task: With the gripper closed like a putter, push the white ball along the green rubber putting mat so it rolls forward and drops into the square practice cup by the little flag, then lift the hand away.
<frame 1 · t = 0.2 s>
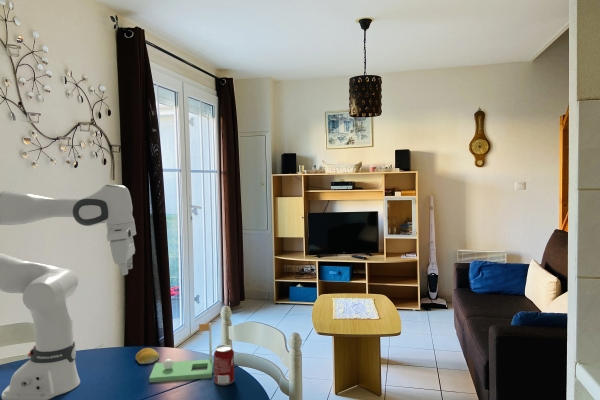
hand: (127, 271, 147), 38 cm above the table, tool pointing down, fingers open, 8 cm apart
bread roll: (147, 360, 167), on the table
green: (182, 372, 156), on the table
ball: (168, 369, 155), point 2 cm above the table, touching green
soda can: (224, 382, 148), on the table
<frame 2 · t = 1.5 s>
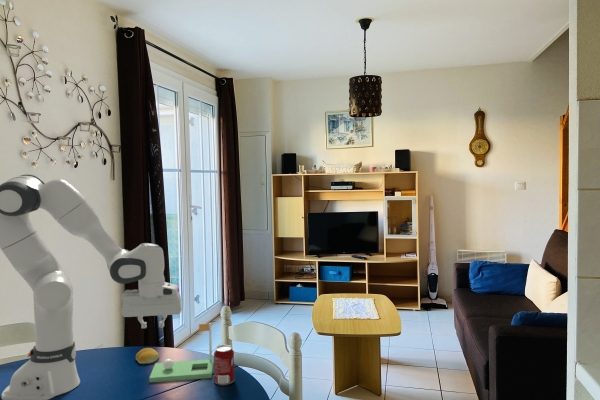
hand: (152, 327, 153), 17 cm above the table, tool pointing down, fingers open, 5 cm apart
nothing on the table moved.
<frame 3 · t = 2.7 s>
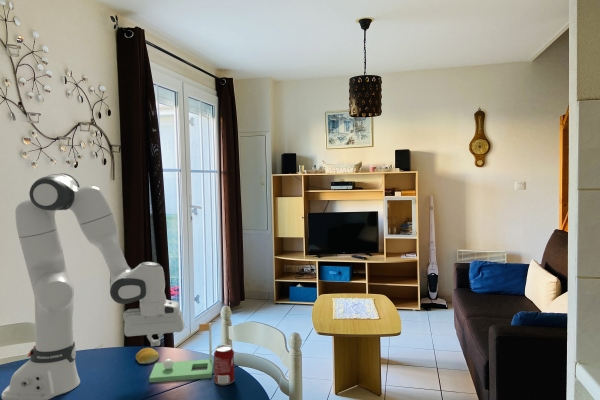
hand: (155, 345, 154), 10 cm above the table, tool pointing down, fingers closed
nothing on the table moved.
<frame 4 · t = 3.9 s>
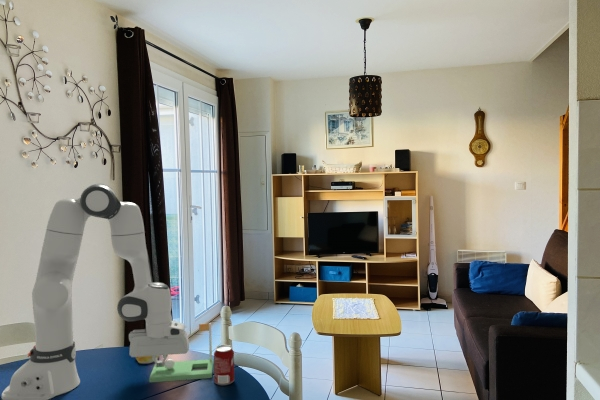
hand: (160, 366, 154), 3 cm above the table, tool pointing down, fingers closed
ball: (168, 368, 155), point 2 cm above the table, tilted 13°, touching green
everything else where it was.
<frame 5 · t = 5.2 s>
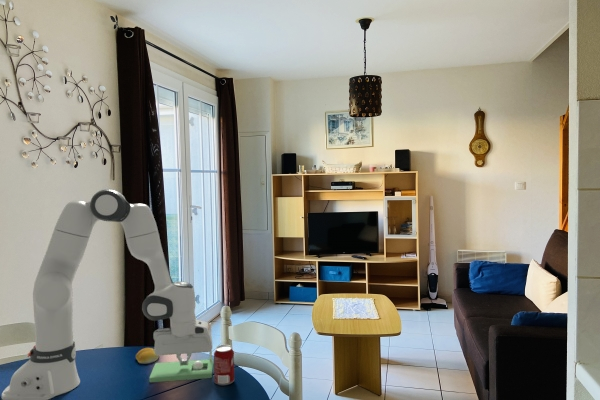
hand: (184, 364, 156), 3 cm above the table, tool pointing down, fingers closed
ball: (199, 370, 157), resting on green, tilted 15°
everything else where it was.
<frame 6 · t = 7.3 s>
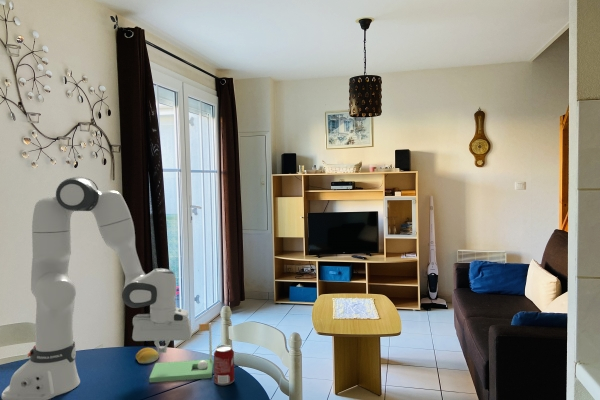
hand: (162, 352, 155), 8 cm above the table, tool pointing down, fingers closed
ball: (199, 369, 157), point 1 cm above the table, tilted 38°, touching green
everything else where it was.
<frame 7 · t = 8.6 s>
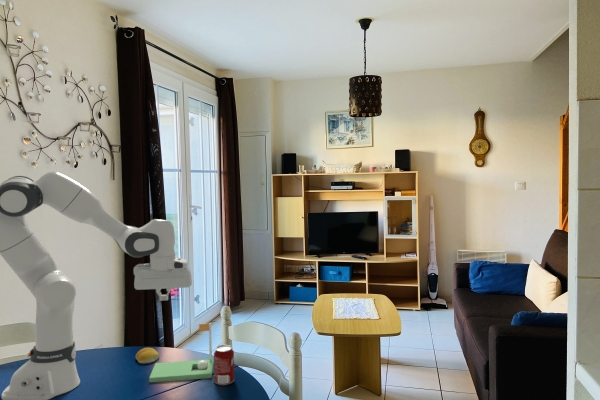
hand: (163, 300, 159), 25 cm above the table, tool pointing down, fingers closed
nothing on the table moved.
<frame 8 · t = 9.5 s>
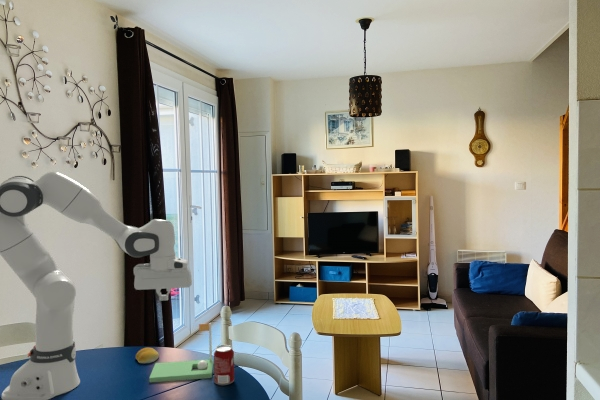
hand: (163, 300, 159), 25 cm above the table, tool pointing down, fingers closed
nothing on the table moved.
at the end: ball 0.1 cm from the target spot on the green, point 0.5 cm above the green's base; ball moved 11.0 cm from its start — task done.
